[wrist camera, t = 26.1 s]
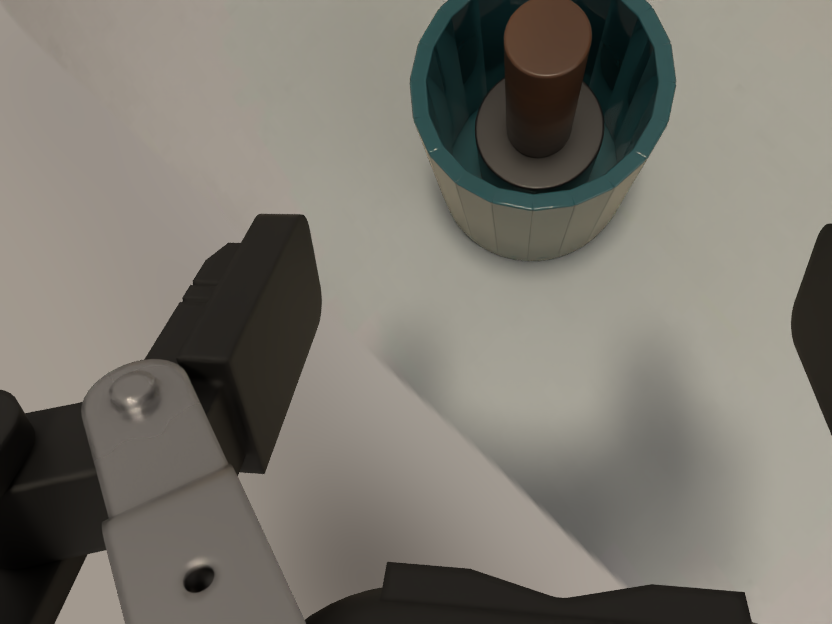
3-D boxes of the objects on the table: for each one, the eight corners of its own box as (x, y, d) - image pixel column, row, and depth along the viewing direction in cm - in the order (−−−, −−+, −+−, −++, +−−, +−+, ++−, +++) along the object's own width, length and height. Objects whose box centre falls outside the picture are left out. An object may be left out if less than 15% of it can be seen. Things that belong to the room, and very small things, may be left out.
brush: (466, 201, 29) (437, 94, 18) (500, 101, 29) (491, -65, 18) (570, 233, 28) (606, 140, 17) (605, 130, 28) (660, -25, 18)
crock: (525, 299, 29) (529, 263, 20) (404, 168, 30) (359, 79, 21) (666, 175, 29) (733, 82, 20) (538, 47, 30) (548, -94, 21)
